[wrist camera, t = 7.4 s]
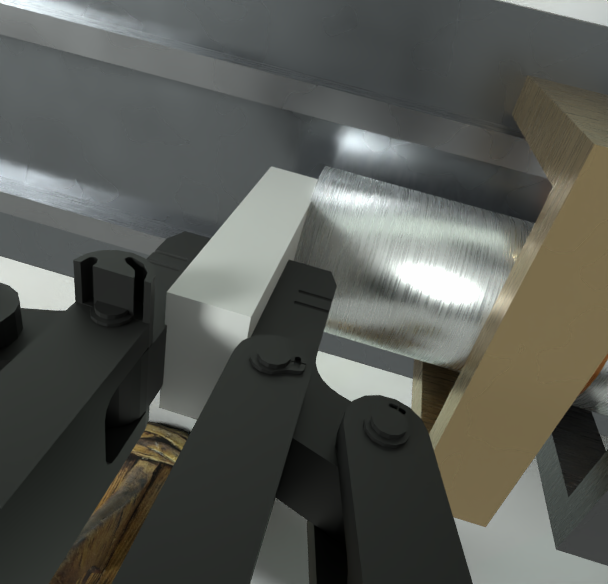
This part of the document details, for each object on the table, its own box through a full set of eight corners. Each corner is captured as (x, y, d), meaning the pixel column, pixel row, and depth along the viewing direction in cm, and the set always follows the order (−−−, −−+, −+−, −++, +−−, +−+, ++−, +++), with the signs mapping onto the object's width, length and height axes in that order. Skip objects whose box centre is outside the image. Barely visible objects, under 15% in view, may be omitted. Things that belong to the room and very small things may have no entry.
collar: (527, 75, 13) (594, 143, 8) (606, 94, 13) (730, 179, 7) (414, 347, 18) (406, 501, 13) (469, 363, 18) (485, 527, 13)
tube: (313, 246, 17) (275, 351, 15) (337, 132, 14) (292, 241, 11) (729, 364, 16) (775, 502, 14) (865, 273, 13) (965, 433, 10)
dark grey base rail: (-91, -142, 14) (-160, -158, 13) (1044, 131, 12) (1140, 155, 10) (-23, 233, 21) (-62, 255, 19) (719, 451, 19) (748, 498, 17)
